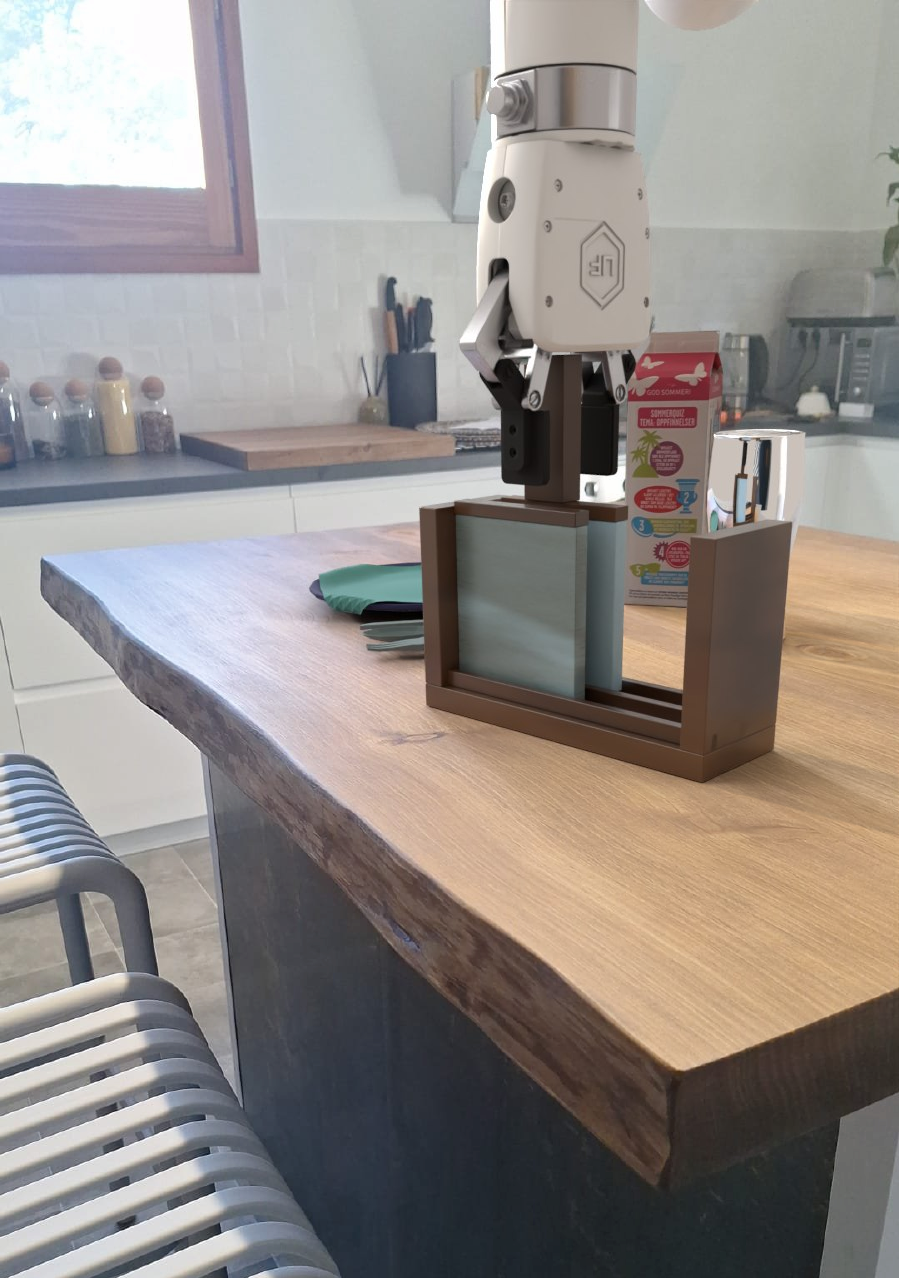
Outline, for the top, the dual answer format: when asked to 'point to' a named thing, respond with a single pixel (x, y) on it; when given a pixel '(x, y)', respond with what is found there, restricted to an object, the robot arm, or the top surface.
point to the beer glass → (755, 478)
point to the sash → (601, 531)
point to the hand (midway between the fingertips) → (560, 475)
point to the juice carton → (669, 461)
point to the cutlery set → (377, 600)
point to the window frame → (556, 636)
